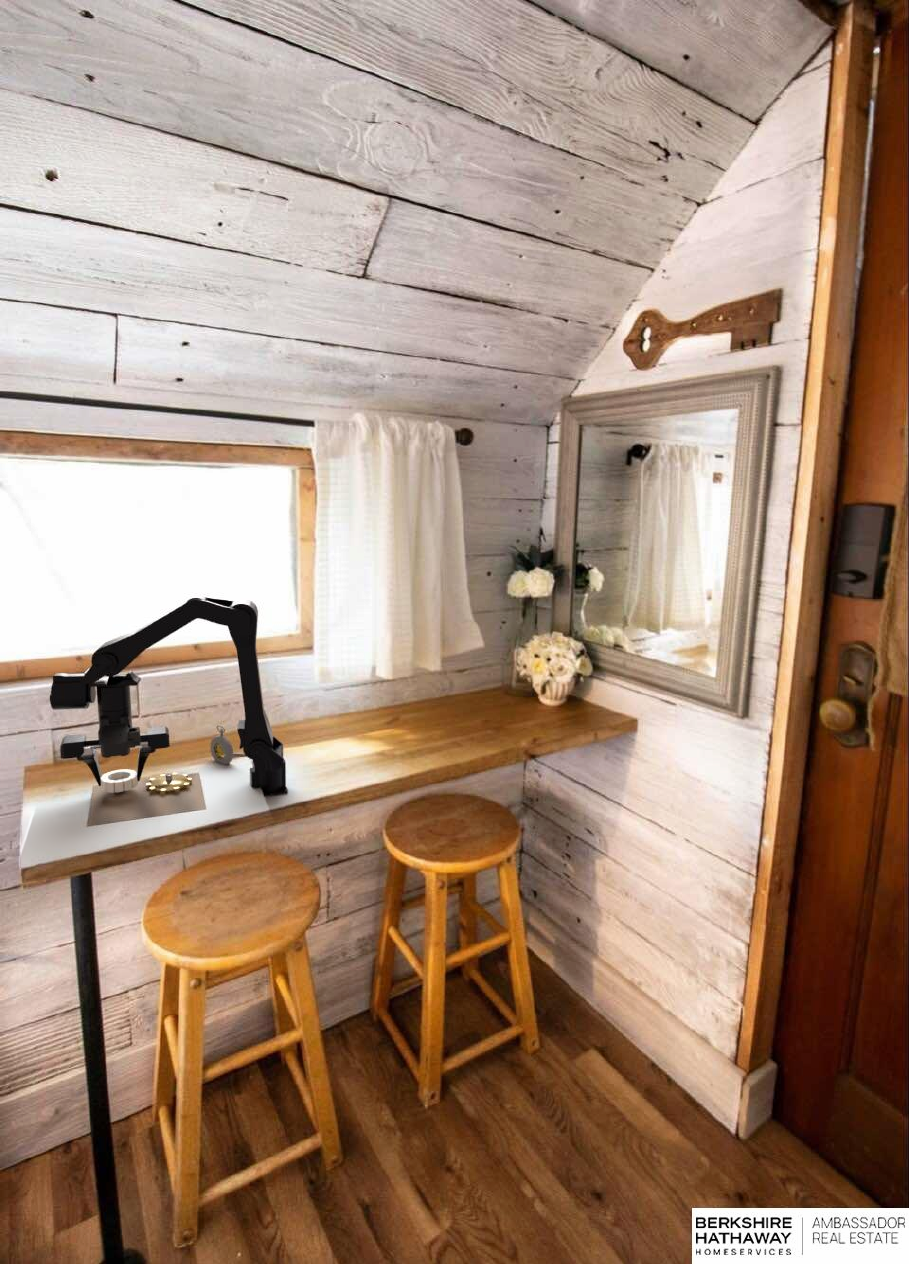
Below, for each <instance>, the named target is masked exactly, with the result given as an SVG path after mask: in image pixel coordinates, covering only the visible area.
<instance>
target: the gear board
mask: <svg viewBox="0 0 909 1264" xmlns="http://www.w3.org/2000/svg"><path fill="white" fill-rule="evenodd" d="M186 774H187V775H188V778H192V784H190V788H188V789H182V790H180V793H176V794H175V793H174V792H173V793H166V795H161V793H154V794H151V793H150V792H149V790H146V783H149V779H150V778H147V779H140V781H138V785H137V786H135V787H134V788H132V789H130V790H127V791H126V792H125V793H124V794H119V795H117V794H115V793H112V792H107V791H106V792H105V791H103V790H102V789H101V786H99V785H98V784H97V785H92V789H91V790H92V791H91V797H90V803H89V808H88V809H89V810H88V815H87V822H86V827H93V826H102V825H107V824H114V823H120V822H121V823H122V822H127V821H136V820H140V819H141V820H142V819H149V818H155V817H162V816H170V815H175V814H181V813H190V812H196V811H201V810H202V811H203V810H207V807H206V799H205V796H204V795H205V794H204V792H203V791H204V790H203V785H202V781H201V780H202V779H201V776H200V775H201V774H200V772H194V773H186Z"/></svg>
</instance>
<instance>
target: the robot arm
mask: <svg viewBox="0 0 909 1264" xmlns="http://www.w3.org/2000/svg"><path fill="white" fill-rule="evenodd" d="M258 618H259V610H258V606H257V605H256V604H255V603H254V602H253V601H251V600H249V599H247V598H240V599H239V598H238V599H236V600H231V599H230V600H229V599H225V598H217V597H216V598H215V597H209V596H204V595H201V594H194V595H191V596H190V597H189V598H188V599H187V600H186V601H184V602H183V603H181V604H178V606H176V607H174V608H172V609H171V610H169V611H167V612H166V613H164V614H163V615H161V616H159V617H158V618H156V619H154V620H153V621H151V622H149V623H148V624H146V625H145V626H143V627H142V628H140V629H137V630H136V631H132V632H130V633H127V634H124V635H120V636H118V637H116V638H112V639H110V640H108V641H105V642H104V643H103V644H102V645H101V646H99V648H98V649H96V650H95V651H94V652H93V653H92V655H91V660H90V661H91V666H90V667H89V668H88V669H87V670H86V671H84V673H66V672H65V673H64V672H56V673H55V674H54V675H53V676H52V683H51V688H50V694H49V703H50V707H51V709H53V710H54V711H57V710H58V711H59V710H86V709H88V708H89V707H90V705H91V704H94V703H95V702H96V701H97V714H98V731H97V735H98V737H94V738H87V736H86V733H79V734H71V735H70V734H68V735H64V737H63V738H62V740H61V743H60V746H59V751H60V752H59V753H60V759H62V760H68V759H76V760H77V762H81V761H82V762H84V763H85V764H86V765H87V766H88V768H89V769H90V771H91V773H92V775H93V777H94V779H95V781H96V783H97V785H99V786H101V777H102V772H101V767H100V763H99V761H100V760H99V757H98V751H97V749H100V756H101V757H102V758H104V759H109V758H111V757H119V756H121V757H126V756H129V754H130V753H131V748H136V747H138V755H137V757H138V758H137V767H136V768H137V769H136V772H137V781H140V780H141V777H142V774H143V771H144V767H145V765H146V763H147V762H146V761H147V759H148V758H149V756H150V755H151V754H155V753H156V752H157V750H159V749H167V748H169V747H170V731H169V728H168V727H167V726H165V725H162V726H151V727H147V728H146V733H141V729H140V727H139V726H137V727H136V726H135V727H133V718H132V717H133V715H132V701H131V687H133V686H134V687H135V686H138V685H139V683H140V682H141V680H142V678H141V677H140V676H139V675H137V674H136V673H134V672H133V671H132V670H129V671H128V672H127V674H122V675H121V674H120V673H121V672H123V670H125V669H126V668H127V667H128V666H129V665H130V664H131V663H132V662H133V661H135V660H136V659H137V658H138V657H139V656H141V655H142V654H143V652H145V651H146V650H147V649H149V648H151V647H152V646H154V645H155V644H157V643H159V642H160V641H162V640H164V639H165V638H167V637H169V636H170V635H172V634H173V633H175V632H177V631H179V630H180V629H182V628H183V627H185V626H187V625H188V624H190V623H192V622H193V621H195V620H196V619H199V620H204V621H208V622H210V623H214V624H216V625H220V626H226V627H227V628H228V632H229V635H230V637H231V639H232V642H233V644H234V648H235V649H236V655H237V663H238V671H239V679H240V686H241V692H242V701H243V709H244V715H245V716H244V717H245V718H244V719H239V720H238V724H237V734H238V737H239V739H240V742H239V743H240V744H239V750H242V751H243V754H245V755H246V757H247V758H248V759H249V758H250V759H249V760H252V761H251V762H252V763H251V764H252V767H250V768H249V784H250V787H251V789H260V790H261V791H262V794H263V796H264V797H267V796H274V795H275V796H276V795H280V794H281V795H282V794H287V793H289V790H288V787H287V781H286V780H287V777H286V775H287V771H286V770H287V769H286V768H287V767H286V763H287V762H286V760H285V758H284V744H283V742H281V741H280V740H279V739H277V738H276V737H275V736H274V733H273V730H272V727H271V724H270V720H269V717H268V716H267V713H266V711H265V705H264V699H263V698H264V697H263V692H262V683H261V675H260V673H261V672H260V668H259V659H258V651H257V650H258V649H257V635H258V634H257V633H258V623H259V621H258V620H259V619H258ZM119 674H120V675H119ZM104 677H108V678H105V679H102V678H104Z"/></svg>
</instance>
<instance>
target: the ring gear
mask: <svg viewBox="0 0 909 1264" xmlns="http://www.w3.org/2000/svg"><path fill="white" fill-rule="evenodd" d="M117 778H124V779H122V780H115V779H117ZM137 785H138V781H137V770H133V769H127V768H125V769H116V770H112V771H108V772H107V773H104V774H101V789H102V790H103V791H105V792H106V791H107V792H112V793H114V792H115V793H116V792H123V790H124V791H127V790H130V789H132V788H134V787H135V786H137Z"/></svg>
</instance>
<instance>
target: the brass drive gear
mask: <svg viewBox="0 0 909 1264" xmlns="http://www.w3.org/2000/svg"><path fill="white" fill-rule="evenodd" d="M187 774H188V773H184V774H179V773H178V772H172V774H171V773H167V774H165V773H163V774H162V773H161V774H159V775H158V777H151V778H148V779H149V783H146V790H149V792H150V793H151V794H154V793H161V795H166V793H173V792H174V793H175V794H176V793H180V790H182V789H188V788H190V784H192V778H188V775H187Z"/></svg>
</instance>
